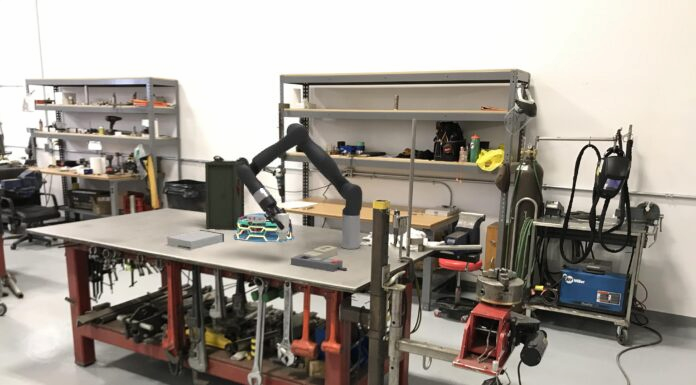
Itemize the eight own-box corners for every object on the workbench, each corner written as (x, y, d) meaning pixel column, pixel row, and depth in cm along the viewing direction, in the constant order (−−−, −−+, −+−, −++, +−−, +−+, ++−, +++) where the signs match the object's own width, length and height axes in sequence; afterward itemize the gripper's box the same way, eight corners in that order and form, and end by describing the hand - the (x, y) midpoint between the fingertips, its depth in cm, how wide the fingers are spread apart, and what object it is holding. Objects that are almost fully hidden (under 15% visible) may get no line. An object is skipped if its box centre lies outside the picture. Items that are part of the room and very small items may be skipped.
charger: (282, 237, 231) (282, 213, 229) (288, 238, 229) (289, 213, 228) (276, 239, 227) (276, 214, 225) (283, 240, 225) (283, 215, 224)
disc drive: (224, 242, 265) (224, 233, 264) (191, 250, 245) (191, 241, 245) (200, 238, 274) (200, 229, 273) (167, 246, 254) (167, 236, 254)
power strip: (300, 260, 229) (300, 252, 229) (350, 268, 218) (350, 260, 217) (290, 264, 222) (290, 256, 222) (342, 272, 211) (342, 264, 210)
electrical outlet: (302, 251, 231) (326, 245, 246) (302, 260, 232) (325, 253, 246) (314, 254, 227) (337, 247, 242) (314, 262, 228) (337, 255, 242)
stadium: (300, 235, 286) (300, 210, 284) (286, 244, 263) (286, 217, 261) (243, 231, 293) (243, 207, 291) (225, 240, 270) (224, 214, 268)
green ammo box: (215, 223, 315) (214, 160, 310) (244, 224, 314) (243, 161, 309) (206, 229, 296) (205, 162, 291) (236, 230, 296) (236, 163, 291)
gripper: (260, 196, 222) (282, 225, 218) (278, 193, 235) (299, 220, 231) (250, 206, 225) (272, 235, 221) (269, 203, 238) (290, 230, 234)
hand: (286, 227), depth 226 cm, fingers closed on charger, 4 cm apart
